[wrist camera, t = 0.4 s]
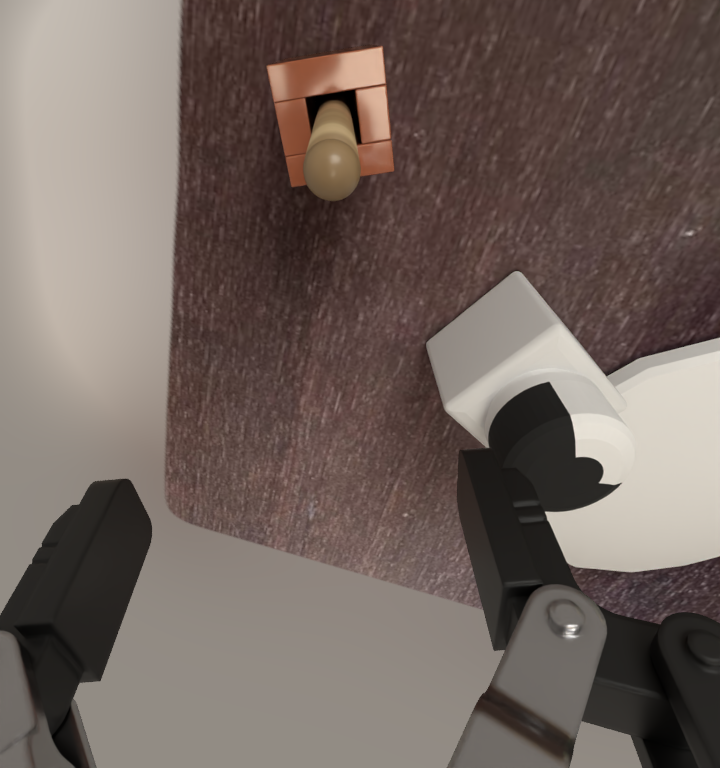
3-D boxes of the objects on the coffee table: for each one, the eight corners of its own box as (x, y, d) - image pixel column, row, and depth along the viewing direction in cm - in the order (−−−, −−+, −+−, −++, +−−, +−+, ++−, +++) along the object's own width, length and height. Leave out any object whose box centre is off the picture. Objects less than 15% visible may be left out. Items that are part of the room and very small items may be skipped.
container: (488, 404, 38) (548, 549, 27) (422, 342, 34) (461, 479, 24) (578, 341, 35) (685, 475, 24) (516, 266, 31) (609, 384, 21)
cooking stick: (319, 87, 25) (295, 149, 11) (346, 83, 25) (357, 139, 11) (324, 117, 26) (307, 212, 12) (350, 113, 26) (365, 203, 12)
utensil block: (284, 58, 25) (266, 65, 18) (370, 44, 24) (383, 45, 18) (302, 151, 27) (291, 187, 20) (380, 139, 27) (394, 171, 20)
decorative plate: (959, 361, 32) (771, 588, 46) (899, 329, 35) (742, 550, 49) (573, 366, 31) (504, 596, 45) (550, 333, 34) (492, 556, 48)
